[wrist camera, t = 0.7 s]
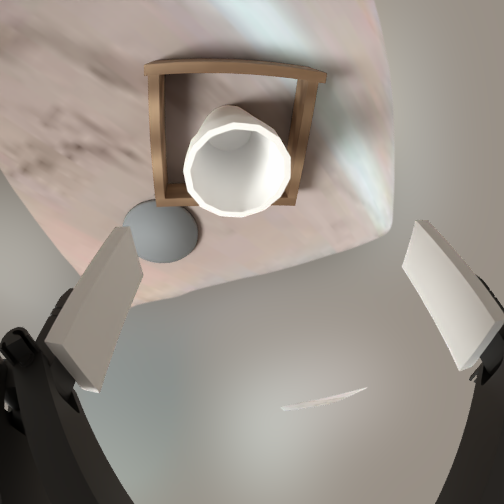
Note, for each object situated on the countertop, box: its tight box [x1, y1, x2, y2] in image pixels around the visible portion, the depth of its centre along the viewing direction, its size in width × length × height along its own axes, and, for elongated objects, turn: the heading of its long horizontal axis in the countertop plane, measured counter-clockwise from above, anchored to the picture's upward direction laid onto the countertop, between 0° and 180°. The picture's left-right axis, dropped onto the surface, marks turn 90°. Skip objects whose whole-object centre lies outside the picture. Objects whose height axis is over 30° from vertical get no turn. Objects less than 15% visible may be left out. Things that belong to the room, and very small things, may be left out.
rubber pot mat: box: [123, 199, 198, 263], centre depth 43 cm, size 12×12×1 cm
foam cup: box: [183, 105, 291, 217], centre depth 29 cm, size 10×9×13 cm
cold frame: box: [144, 58, 327, 207], centre depth 31 cm, size 18×18×6 cm
